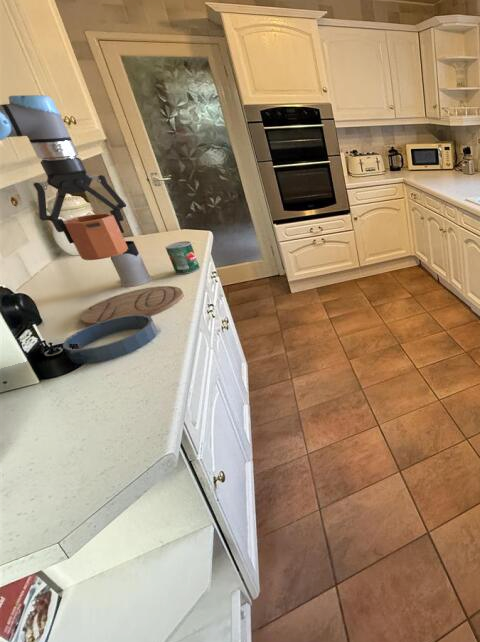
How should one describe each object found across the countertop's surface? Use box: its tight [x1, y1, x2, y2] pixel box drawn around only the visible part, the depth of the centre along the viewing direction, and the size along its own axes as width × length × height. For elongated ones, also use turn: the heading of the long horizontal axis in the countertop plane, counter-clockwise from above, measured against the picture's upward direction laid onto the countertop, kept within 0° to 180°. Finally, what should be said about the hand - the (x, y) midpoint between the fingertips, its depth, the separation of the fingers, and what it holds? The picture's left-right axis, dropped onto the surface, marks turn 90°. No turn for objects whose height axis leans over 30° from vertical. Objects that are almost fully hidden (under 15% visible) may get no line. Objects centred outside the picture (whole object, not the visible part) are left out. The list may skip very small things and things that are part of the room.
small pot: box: [63, 212, 128, 261], centre depth 114 cm, size 13×10×11 cm
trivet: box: [80, 285, 185, 328], centre depth 128 cm, size 25×25×2 cm
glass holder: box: [110, 240, 153, 288], centre depth 147 cm, size 9×14×15 cm, turn 30°
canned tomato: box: [164, 240, 201, 275], centre depth 155 cm, size 8×8×11 cm
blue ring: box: [62, 315, 159, 365], centre depth 106 cm, size 17×17×6 cm
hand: (97, 237), depth 114 cm, fingers closed on small pot, 10 cm apart
